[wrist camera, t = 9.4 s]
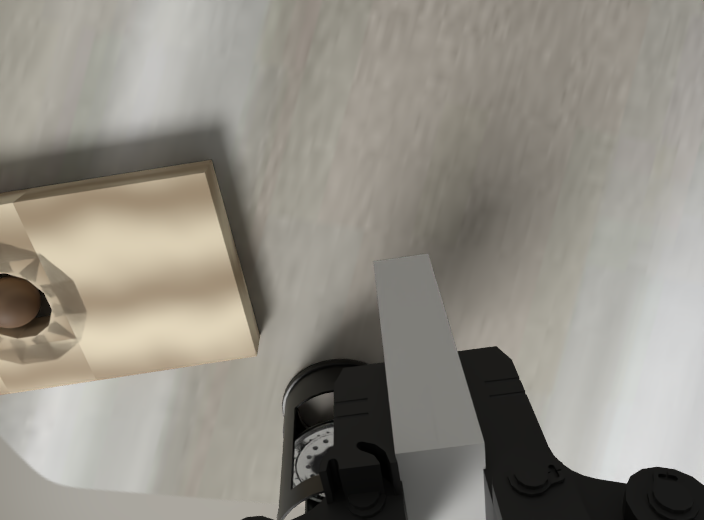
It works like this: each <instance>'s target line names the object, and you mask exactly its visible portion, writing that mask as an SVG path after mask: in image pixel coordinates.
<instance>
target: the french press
mask: <svg viewBox="0 0 704 520" xmlns="http://www.w3.org/2000/svg"><path fill="white" fill-rule="evenodd" d="M362 365H368V364H366V363H363V362H359V361H356V360H348V359H334V360H328V361H323V362H320V363H317V364H314V365H312V366H310V367H308V368H306V369H305V370H303V371H301V372H300V373H299V374H298V375H297V376H296V377H294V378H293V380H292V381H291V382H290V384H289V385H288V387H287V389H286V391H285V393H284V397H283V402H282V410H283V416H284V425H283V438H284V440H283V455H282V470H281V484H280V499H279V509H278V514H277V520H284V518H285V517H286V516H287V514H288V513H289V512H290V511H291V510H292V509H293V508H295V507H296V506H297V505H298V504H300V503H301V502H303V501H305V513H307V512H308V511H310V510H312V509H313V508H314V507H316V506H317V505H318V504H319V503H320V502H321V501H322V500H323V498H324V497H325V494H324V490H323V486H322V482H321V479H320V475H319V469H320V465H321V461H322V459H323V457H324V456H325V455H326V453H327V452H328V451H329V449H330V448H332V447H333V442H334V420H329V421H324V422H322V423H319V424H316V425H314V426H312V427H310V428H308V427H307V426H306V425H305V424H304V423H303V421H302V419H301V418H300V415H299V412H298V407H299V406H301V405H302V404H303V403H304V402H306V401H308V400H310V399H311V398H313V397H316V396H319V395H321V394H325V393H330V392H334V384H335V382H336V380H337V378H338V376H339V375H340V373H341V371H342V369H343V368H347V367H354V366H362ZM293 487H294V488H293Z"/></svg>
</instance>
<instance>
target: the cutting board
mask: <svg viewBox="0 0 704 520" xmlns="http://www.w3.org/2000/svg"><path fill="white" fill-rule="evenodd" d="M2 273H6V274H9V275H13V276H16V277H20V278H24V279H27V280H28V281H29V282H31V283H32V284H33V285H34V286H36V287H37V288H38V289H40V290H41V291H42V292H43V293H44V294H45V296H46V298H47V300H48V302H49V305H50V307H51V309H52V312H51V316H45V317H38V318H33V319H32V320H31V321H30V322H29V323H27V324H25V325H23V326H20V327H16V328H2V327H0V395H4V394H11V393H17V392H24V391H30V390H37V389H44V388H50V387H57V386H63V385H70V384H76V383H83V382H90V381H96V380H103V379H109V378H116V377H123V376H129V375H136V374H142V373H149V372H155V371H162V370H169V369H175V368H182V367H188V366H195V365H202V364H208V363H215V362H221V361H228V360H234V359H241V358H248V357H254V356H257V352H258V345H259V339H260V334H259V330H258V327H257V323H256V319H255V316H254V312H253V308H252V305H251V301H250V297H249V294H248V290H247V287H246V283H245V279H244V276H243V272H242V268H241V265H240V261H239V257H238V254H237V250H236V246H235V243H234V239H233V236H232V232H231V228H230V225H229V221H228V217H227V214H226V210H225V206H224V203H223V199H222V196H221V192H220V188H219V185H218V181H217V177H216V174H215V170H214V166H213V163H212V160H207V161H200V162H194V163H188V164H181V165H175V166H169V167H162V168H156V169H150V170H143V171H137V172H131V173H124V174H118V175H112V176H105V177H99V178H93V179H86V180H80V181H74V182H67V183H61V184H55V185H48V186H42V187H36V188H29V189H23V190H17V191H10V192H4V193H0V274H2Z"/></svg>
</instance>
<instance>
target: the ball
mask: <svg viewBox="0 0 704 520" xmlns="http://www.w3.org/2000/svg"><path fill="white" fill-rule="evenodd" d="M40 306H41V297H40V293H39V291H38V289H37V288H36V287H35V286H34V285H33V284H32V283H31V282H29V281H28V280H26V279H24V278H20V277H14V276H9V277H3V278H0V327H2V328H16V327H20V326H23V325H25V324H27V323H29V322H30V321H31V320H32V319H33V318H34V317H35V316H36V315H37V313H38V312H39V309H40Z"/></svg>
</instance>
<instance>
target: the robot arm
mask: <svg viewBox="0 0 704 520" xmlns="http://www.w3.org/2000/svg"><path fill="white" fill-rule="evenodd" d="M373 262H374V271H375V280H376V289H377V298H378V307H379V316H380V324H381V333H382V342H383V351H384V360H385V362H384V363H377V364H369V365H362V366H354V367H347V368H343V369H342V371H341V373H340V375H339V376H338V378H337V380H336V382H335V384H334V442H333V447H332V448H330V449H329V451H328V452H327V453H326V455H325V456H324V457H323V459H322V461H321V465H320V469H319V475H320V479H321V482H322V486H323V490H324V494H325V497H324V498H323V500H322V501H321V502H320V503H319V504H318V505H317V506H316V507H314V508H313V509H312V510H310V511H308V512H307V513H305V514H303V515H301V516H299V517H297V518H295V519H292V520H704V485H703V484H701V483H700V482H699V481H697V480H696V479H695V478H693V477H692V476H689V475H687V474H685V473H682V472H680V471H677V470H675V469H668V468H662V467H653V468H647V469H641V470H640V471H638V472H637V473H635V474H633V475H632V476H631V477H630V479H629V481H628V483H627V484H625V483H619V482H613V481H607V480H600V479H595V478H591V477H587V476H583V475H581V474H579V473H577V472H574V471H572V470H571V469H569V468H568V467H566V466H565V465H563V463H562V462H560V461H559V460H558V459H557V458H556V457H555V456H554V455H553V453H552V452H551V450H550V448H549V447H548V444H547V442H546V440H545V437H544V435H543V432H542V430H541V428H540V425H539V423H538V421H537V418H536V416H535V414H534V411H533V409H532V406H531V404H530V402H529V399H528V397H527V395H526V394H525V390H524V388H523V385H522V383H521V381H520V380H519V376H518V373H517V371H516V369H515V366H514V364H513V362H512V360H511V359H510V358H509V357H508V356H507V355H506V354H505V353H503V352H502V351H501V350H500V349H499V348H498V347H497V346H495V347H487V348H479V349H472V350H464V351H457V348H456V345H455V342H454V338H453V335H452V332H451V328H450V325H449V321H448V318H447V315H446V311H445V308H444V305H443V301H442V298H441V294H440V291H439V288H438V284H437V281H436V278H435V274H434V271H433V268H432V264H431V261H430V257H429V254H421V255H414V256H407V257H400V258H393V259H386V260H379V261H373ZM242 520H273V519H270V518H266V517H263V516H255V517H247V518H244V519H242Z"/></svg>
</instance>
